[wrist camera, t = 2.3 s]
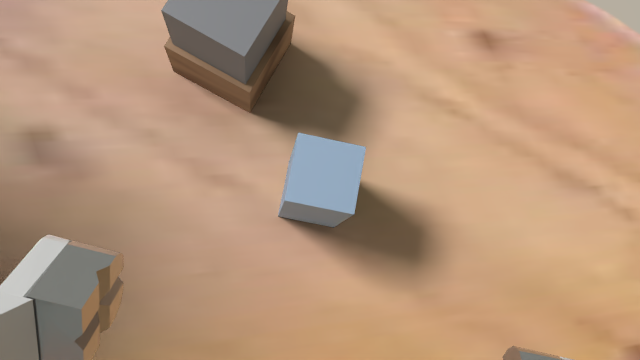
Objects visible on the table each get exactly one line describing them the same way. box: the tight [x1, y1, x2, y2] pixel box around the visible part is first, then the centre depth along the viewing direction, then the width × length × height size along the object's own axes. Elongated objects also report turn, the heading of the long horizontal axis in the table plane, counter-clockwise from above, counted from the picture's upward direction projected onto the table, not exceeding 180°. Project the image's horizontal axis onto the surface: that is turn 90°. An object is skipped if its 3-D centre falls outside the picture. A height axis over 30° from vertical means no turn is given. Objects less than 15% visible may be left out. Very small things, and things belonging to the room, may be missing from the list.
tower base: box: [164, 11, 295, 113], centre depth 42 cm, size 7×7×5 cm
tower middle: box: [161, 0, 288, 85], centre depth 37 cm, size 6×6×5 cm
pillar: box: [278, 133, 366, 227], centre depth 39 cm, size 4×4×9 cm
